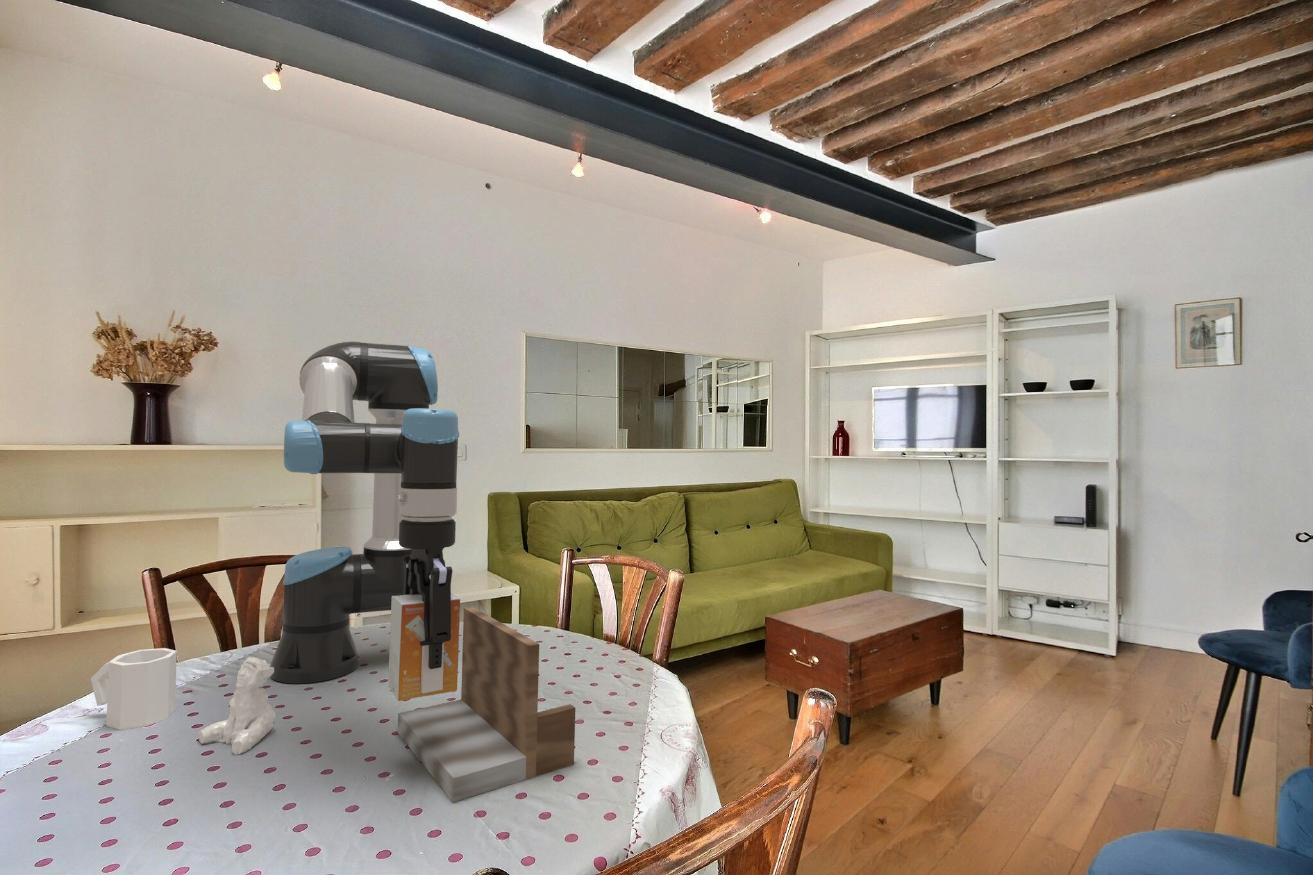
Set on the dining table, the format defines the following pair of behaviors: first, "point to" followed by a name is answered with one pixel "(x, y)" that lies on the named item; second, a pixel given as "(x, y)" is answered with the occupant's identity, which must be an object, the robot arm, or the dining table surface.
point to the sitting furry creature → (245, 710)
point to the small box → (418, 648)
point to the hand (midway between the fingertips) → (423, 682)
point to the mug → (137, 688)
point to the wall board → (491, 717)
